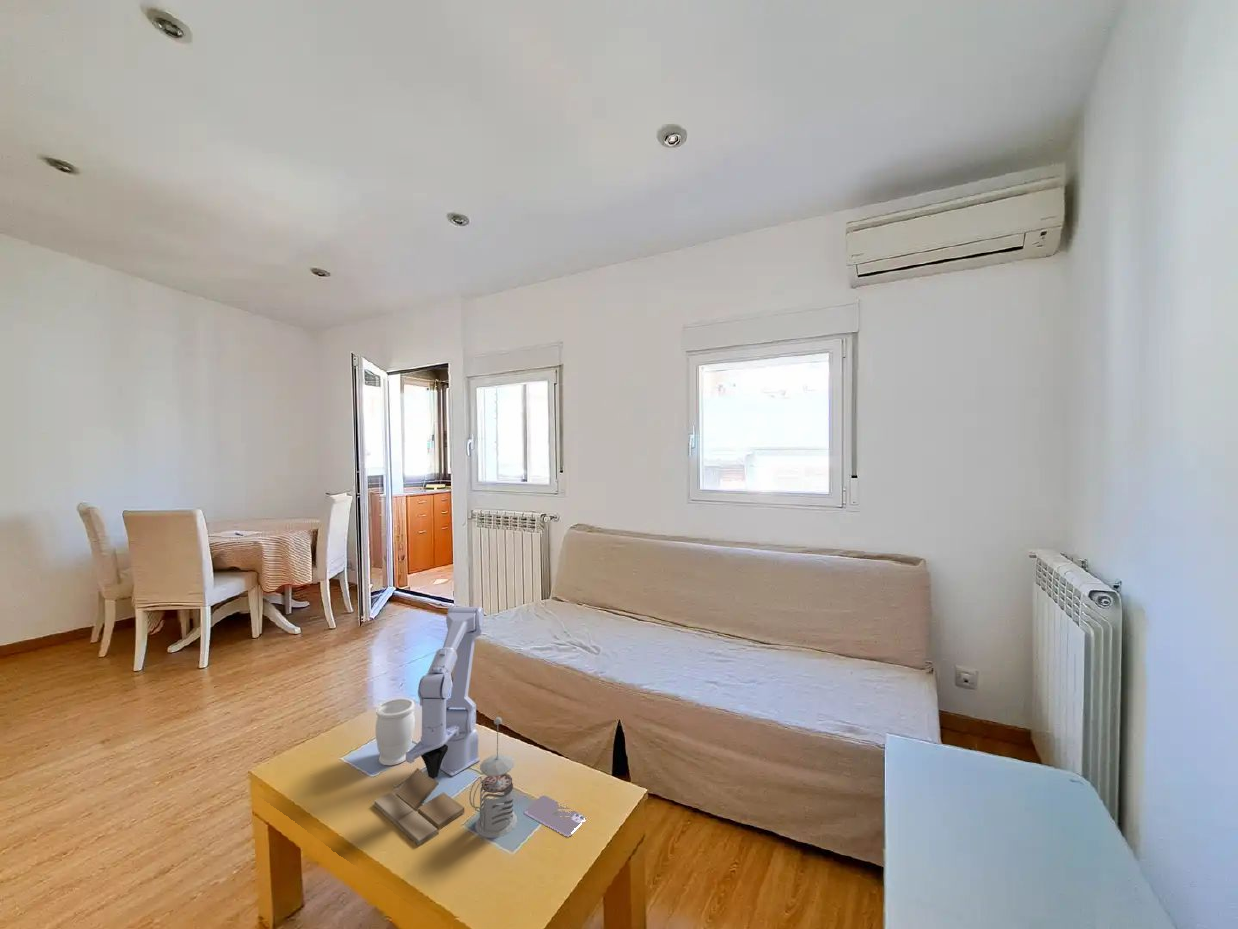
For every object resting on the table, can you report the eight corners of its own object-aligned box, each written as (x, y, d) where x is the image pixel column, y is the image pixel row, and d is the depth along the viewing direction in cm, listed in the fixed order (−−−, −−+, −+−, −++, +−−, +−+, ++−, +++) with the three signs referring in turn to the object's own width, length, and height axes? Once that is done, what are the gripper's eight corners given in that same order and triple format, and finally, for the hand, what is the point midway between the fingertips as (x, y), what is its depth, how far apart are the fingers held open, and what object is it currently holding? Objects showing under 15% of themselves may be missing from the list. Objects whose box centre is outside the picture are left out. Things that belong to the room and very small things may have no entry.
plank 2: (443, 797, 123) (443, 792, 123) (464, 812, 118) (464, 807, 118) (418, 813, 118) (418, 808, 118) (438, 830, 112) (438, 824, 112)
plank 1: (419, 770, 129) (417, 767, 128) (438, 784, 123) (436, 781, 123) (397, 795, 124) (394, 793, 123) (415, 811, 118) (413, 808, 118)
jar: (421, 754, 142) (422, 704, 142) (388, 773, 133) (389, 719, 133) (400, 743, 147) (401, 694, 148) (367, 760, 139) (368, 708, 139)
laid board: (392, 795, 124) (392, 790, 124) (438, 833, 111) (438, 828, 111) (374, 805, 120) (374, 800, 120) (419, 846, 107) (419, 840, 107)
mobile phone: (543, 793, 125) (589, 816, 117) (543, 796, 125) (589, 820, 117) (522, 810, 118) (569, 836, 110) (522, 814, 118) (569, 840, 110)
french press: (525, 822, 115) (526, 718, 115) (481, 849, 107) (483, 736, 107) (503, 802, 122) (504, 703, 122) (460, 826, 114) (462, 720, 114)
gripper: (446, 705, 129) (445, 756, 129) (397, 731, 116) (397, 787, 116) (465, 713, 125) (464, 765, 125) (416, 739, 113) (415, 797, 113)
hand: (433, 776), depth 121 cm, fingers closed
